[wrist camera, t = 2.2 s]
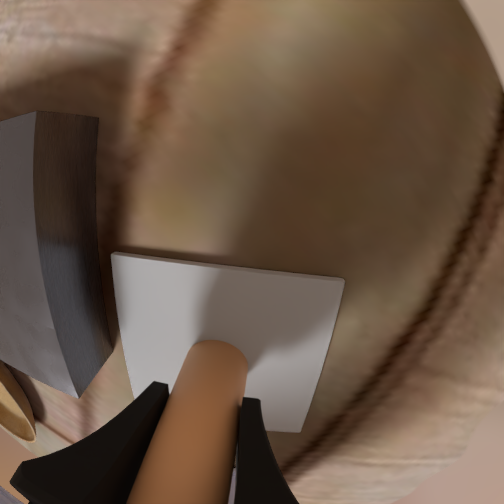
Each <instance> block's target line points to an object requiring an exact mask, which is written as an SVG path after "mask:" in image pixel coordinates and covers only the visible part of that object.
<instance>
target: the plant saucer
mask: <svg viewBox="0 0 504 504" xmlns="http://www.w3.org/2000/svg"><path fill="white" fill-rule="evenodd" d="M0 424H1V425H2V426H3V427H4V428H6V429H7V430H8V431H9V432H11V433H12V434H13V435H15V436H17V437H18V438H20V439H22V440H24V441H26V442H30V443H34V442H36V429H35V422H34V417H33V413H32V409H31V406H30V403H29V401H28V399H27V397H26V395H25V393H24V392H23V390H22V388H21V387H20V385H19V384H18V382H17V381H16V379H15V378H14V376H13V375H12V374H11V372H10V371H9V370H8V368H7V367H6V366H5V364H4V363H3V362H2V361H1V360H0Z"/></svg>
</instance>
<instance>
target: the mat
mask: <svg viewBox="0 0 504 504" xmlns="http://www.w3.org/2000/svg"><path fill="white" fill-rule="evenodd" d="M111 262H112V273H113V283H114V292H115V300H116V307H117V314H118V321H119V327H120V333H121V339H122V344H123V350H124V355H125V360H126V365H127V369H128V374H129V378H130V383H131V387H132V391H133V395H134V399H136V398H137V397H138V396H139V395H140V394H141V393H142V392H143V391H144V390H145V389H146V388H147V387H148V386H149V385H150V384H151V383H152V382H153V381H157V382H161V383H166V384H168V387H169V394H170V393H171V391H172V389H173V386H174V384H175V381H176V379H177V377H178V374H179V372H180V370H181V367H182V365H183V363H184V360H185V358H186V355H187V353H188V351H189V349H190V348H191V347H192V346H193V345H194V344H196V343H198V342H201V341H204V340H219V341H224V342H227V343H229V344H231V345H233V346H235V347H236V348H238V349H239V350H240V351H241V352H242V353H243V354H244V356H245V358H246V359H247V362H248V373H247V380H246V387H245V394H244V397H250V398H258V399H260V400H261V410H262V417H263V422H264V426H265V430H266V431H278V432H298V433H300V432H301V429H302V426H303V424H304V421H305V418H306V415H307V413H308V410H309V407H310V404H311V401H312V398H313V395H314V392H315V389H316V386H317V383H318V380H319V377H320V374H321V370H322V367H323V364H324V361H325V357H326V354H327V350H328V347H329V343H330V340H331V336H332V333H333V329H334V325H335V321H336V317H337V313H338V310H339V305H340V301H341V297H342V293H343V289H344V284H345V281H344V279H343V278H338V277H328V276H318V275H308V274H299V273H290V272H280V271H271V270H262V269H253V268H244V267H236V266H227V265H219V264H210V263H202V262H193V261H185V260H177V259H169V258H161V257H153V256H145V255H138V254H130V253H123V252H114V253H112V254H111Z"/></svg>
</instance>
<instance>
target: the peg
mask: <svg viewBox="0 0 504 504" xmlns="http://www.w3.org/2000/svg"><path fill="white" fill-rule="evenodd" d="M247 373H248V362H247V359H246V358H245V356H244V354H243V353H242V352H241V351H240V350H239V349H238V348H236V347H235V346H233V345H231V344H229V343H227V342H224V341H219V340H204V341H201V342H198V343H196V344H194V345H193V346H192V347H191V348H190V349H189V351H188V353H187V355H186V358H185V360H184V363H183V365H182V367H181V370H180V372H179V374H178V377H177V379H176V381H175V384H174V386H173V389H172V391H171V393H170V396H169V398H168V401H167V403H166V405H165V408H164V410H163V413H162V415H161V417H160V420H159V422H158V425H157V427H156V430H155V432H154V435H153V437H152V439H151V442H150V444H149V447H148V449H147V452H146V454H145V457H144V459H143V462H142V464H141V467H140V469H139V472H138V474H137V477H136V479H135V482H134V485H133V487H132V490H131V492H130V495H129V497H128V500H127V503H126V504H228V502H229V495H230V489H231V482H232V476H233V469H234V463H235V456H236V449H237V442H238V433H239V421H240V411H241V405H242V399H243V397H244V394H245V387H246V380H247Z"/></svg>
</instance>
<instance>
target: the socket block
mask: <svg viewBox="0 0 504 504" xmlns="http://www.w3.org/2000/svg"><path fill="white" fill-rule="evenodd" d="M98 119H99V118H97V117H90V116H82V115H74V114H65V113H55V112H44V111H34V112H31V113H27V114H23V115H20V116H16V117H13V118H10V119H7V120H4V121H1V122H0V360H2V361H3V362H5V363H7V364H9V365H10V366H12V367H14V368H16V369H17V370H19V371H21V372H23V373H25V374H27V375H29V376H30V377H32V378H34V379H36V380H38V381H40V382H42V383H44V384H47V385H49V386H51V387H53V388H55V389H57V390H59V391H62V392H64V393H66V394H69V395H71V396H73V397H76V398H78V399H79V398H80V396H81V395H82V394H83V392H84V391H85V389H86V388H87V387H88V385H89V384H90V382H91V381H92V380H93V378H94V377H95V376H96V374H97V373H98V371H99V370H100V369H101V367H102V366H103V365H104V363H105V362H106V361H107V359H108V358H109V357H110V355H111V354H112V352H113V349H112V345H111V340H110V335H109V329H108V324H107V318H106V312H105V306H104V299H103V292H102V285H101V277H100V268H99V257H98V245H97V230H96V205H95V170H96V145H97V130H98Z"/></svg>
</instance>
